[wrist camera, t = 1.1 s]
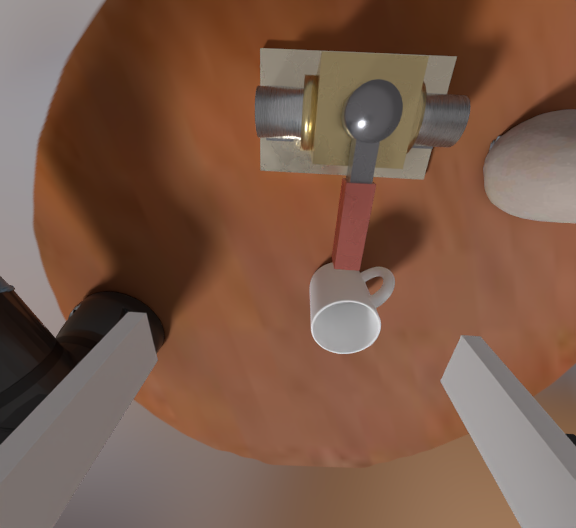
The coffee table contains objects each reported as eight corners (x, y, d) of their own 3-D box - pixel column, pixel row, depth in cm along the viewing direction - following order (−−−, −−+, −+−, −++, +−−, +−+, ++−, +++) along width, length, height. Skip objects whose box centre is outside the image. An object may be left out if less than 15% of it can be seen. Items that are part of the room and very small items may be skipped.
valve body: (261, 169, 33) (246, 183, 24) (261, 50, 28) (241, 13, 19) (420, 178, 33) (463, 195, 24) (452, 58, 27) (523, 24, 18)
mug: (367, 235, 37) (388, 270, 27) (395, 276, 39) (423, 320, 30) (298, 278, 40) (297, 322, 31) (328, 313, 43) (335, 363, 34)
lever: (345, 84, 20) (350, 77, 18) (396, 86, 20) (409, 80, 18) (323, 257, 27) (326, 269, 25) (362, 259, 27) (368, 272, 25)
